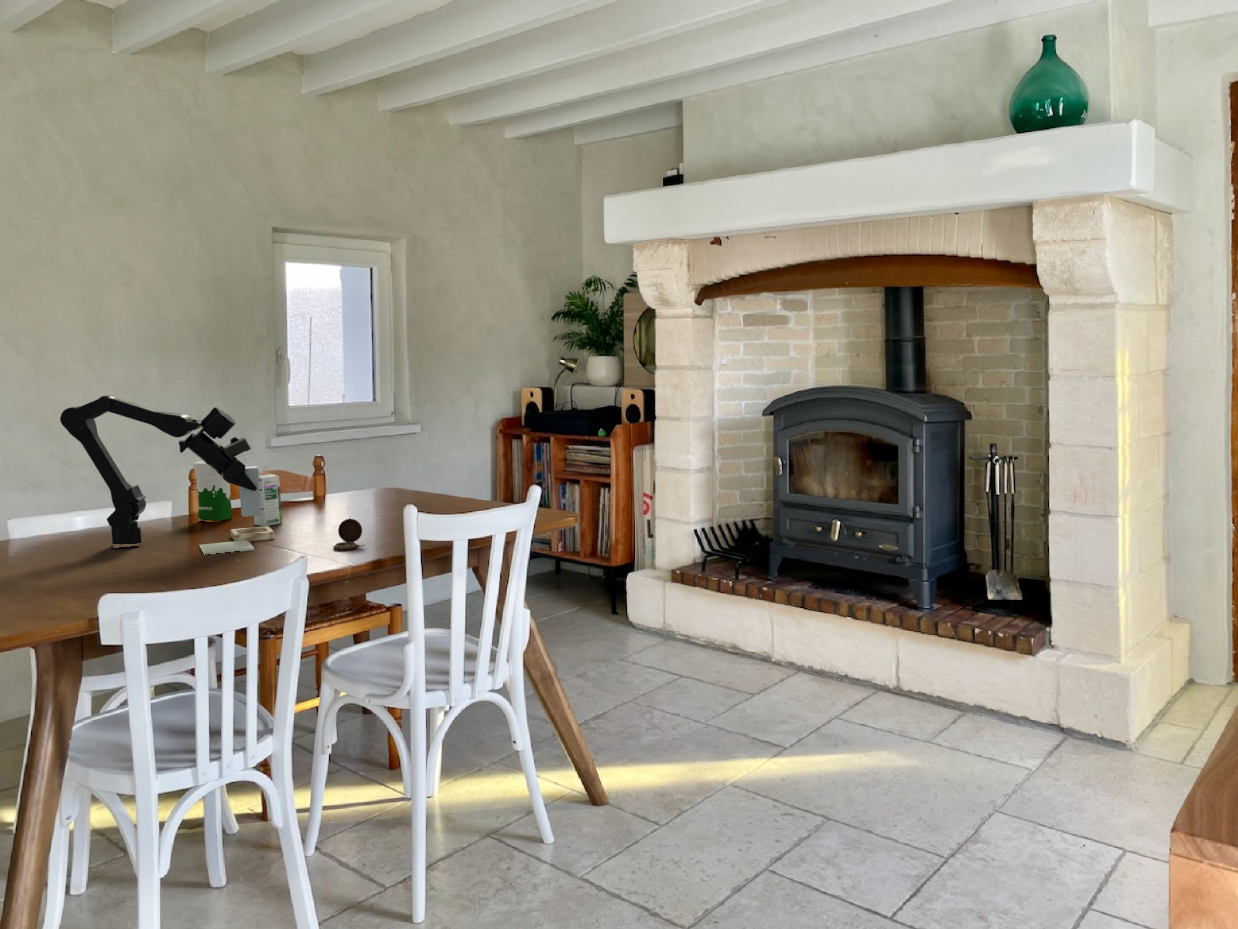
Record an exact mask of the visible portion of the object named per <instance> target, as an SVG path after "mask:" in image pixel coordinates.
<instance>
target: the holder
mask: <svg viewBox="0 0 1238 929" xmlns="http://www.w3.org/2000/svg"><path fill="white" fill-rule="evenodd" d="M230 538H232V540H233V541H243V540H248V541H249V542H256V541H267V540H275V531H274V530H273V529H272V528H271V527H270V526H254V527H245V528H244V527H243V528H233V529H230Z"/></svg>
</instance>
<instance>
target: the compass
mask: <svg viewBox="0 0 1238 929" xmlns="http://www.w3.org/2000/svg"><path fill="white" fill-rule="evenodd" d="M337 530H338V536H339V538H340V539H341V540H342V542H338V543H336V544H335V545H334V546H333V551H336V550H337V552H348V550H350V551H354V550H353V549H355V550H357V549H358V548H361V547H365V546H366V545H365V544H357V543H356V541H358V540H359V539H360V538H361V536H362V534H363V528H362V525H361V523H360V522H359V521H358V520H357V519H354V518H351V517H350V518H348V519H344V520H343V521H341V523H340V524H339V526H338V529H337ZM356 548H357V549H356Z"/></svg>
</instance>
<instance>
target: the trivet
mask: <svg viewBox="0 0 1238 929" xmlns="http://www.w3.org/2000/svg"><path fill="white" fill-rule="evenodd" d="M198 546H200V547H199V549H200V548H201V549H200V551H201V550H202V551H201V553H202V552H203V553H202V555H203V554H204V555H203V556H208V555H207V554H211V555H217V554H216V553H221V554H226V553H225V552H231V553H235V552H234V551H240V552H247V551H255V548H254V546H253V545H252V543H251V541H248V540H243V541H234V540H233V541H226V542H225V541H224V542H217V543H216V542H215V543H213V542H212V543H207V544H206V543H204V544H199V545H198ZM205 554H206V555H205Z"/></svg>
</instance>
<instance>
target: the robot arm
mask: <svg viewBox="0 0 1238 929" xmlns="http://www.w3.org/2000/svg"><path fill="white" fill-rule="evenodd" d="M108 412H109V413H112V414H114V415H118V416H121V417H125V418H128V419H131V420H134V421H138V422H141V423H144V424H146V425H147V424H148V425H150V426H153V427H155V428H156V429H158V430H160V431H161V432H162V433H165V434H167V435H168V436H171V437H173V438H182V437H184V436H188V437H186V438H185V440H178V441H179V442H178V446H179V454H180V453H183V452H184V451H186V450H187V449H188V450H189V451H190V452H192V453H193V454H194V455H196V456H197V457H198V458H199V459H200V460H201V461H204V462H205V463H206V464H208V465H209V466H210V467H212V468H213V469H214V470H215V471H217V473H218V474H220V475H221V476H222V478H223V479H224V480H225V481H226V482H228V483H230V485H231V484H232V485H234V486H238V487H239V488H240V487H243V488H246V489H249V490H252V491H256V489H257V487H256V486H255V485H254V483H253V482H252V481H251V480H250V479H249V477H248V476H247V475H246V473H245V467H246V465H245V464H244V463H243V462H242V461H240V460H239V459H238V458H237V456H238V455H241V454H242V453H245V452H248V451H250V450H252V448H251V446H250V445H249V443H248V440H247V439H246V438H245V437H241V438H240V439H239V437H238V438H237V437H236V436H234V437H231V438H230V440H229V442H230V443H229V444H228V445H226V446H222V445H221V444H218V443H217V442H216V441H215V440H216V439H217V438H218V439H222V438H223V437H224V436H225V435H227V433H228V432H229V431H231V429H232V428H234V426H236V425H237V422H236V421H235V420H234V418H233V417H232V416H231V415H229V414H228V413H226V412H225V411H223V410H221V409H220V408H219V407H218V406H214V407H213V408H212V409H211V410H210V412H208V414H207V415H206V416H205V417H204V418H203V419H202V420H201V419H194V418H192V417H191V416H189V415H188V414H185V413H184V414H183V413H178V412H169V411H168V412H167V411H160V410H157V409H156V410H155V409H153V408H150V407H146V406H143V405H139V404H137V403H134V402H130V401H127V400H123V399H120V398H118V397H115V396H114V395H110V394H109V395H102V396H100V397H99V398H96V399H95V400H93V401H91V402H88V403H85V404H83V405H79V406H78V405H77V406H73V407H72V406H71V407H68V408H65V409H64V410H63V411H62V412H61V414H60V417H59V422H60V423H61V425H62V426H63V428H64V429H66V431H67V432H68V433H69V434H70V435H71V436H72V437H73V438H75V439H76V440H77V441H78V442H79V443H80V444H81V445H82V447H83V449H84V450H85V452H86V453H87V455H88V456H89V458H90V460H91V461H92V463H93V465H94V466H95V468H96V470H97V472H98V473H99V474H100V476H101V477H102V479H103V481H104V483H105V484H106V486H107V488H108V490H109V491H110V495H111V496H110V497H111V502H112V505H113V508H114V510H113V512H111V514H110V515H109V516H108V517H107V518H106V521H107V524H108V525H109V527H110V528H111V530H110V531H111V545H112V544H121V545H122V544H137V543H140V544H142V532H141V526H139V525H138V520H139V518H140V515H141V514H143V512H144V511H145V510H146V507H147V502H146V500H145V499H146V498H147V496H145V495H144V494H143V493H142V490H141V487H140V486H139V484H136V485H134V486H132V485H131V484H130V483H128V482H127V480H126V479H125V477H124V476H123V474H122V472H121V471H120V470H121V469H120V468H119V467H118V465H117V464H116V462H115V461H114V459H113V457H112V455H111V454H110V453H109V451H108V449H107V448H106V446H105V444H104V443H103V441H102V439H101V438H100V436H99V434H98V427H97V424H96V421H95V419H97V418H98V417H100V416H102V415H104V414H106V413H108ZM199 429H200V430H199ZM197 430H199V431H198V432H196V434H195V433H192V432H193V431H197ZM189 434H190V435H189Z"/></svg>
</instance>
